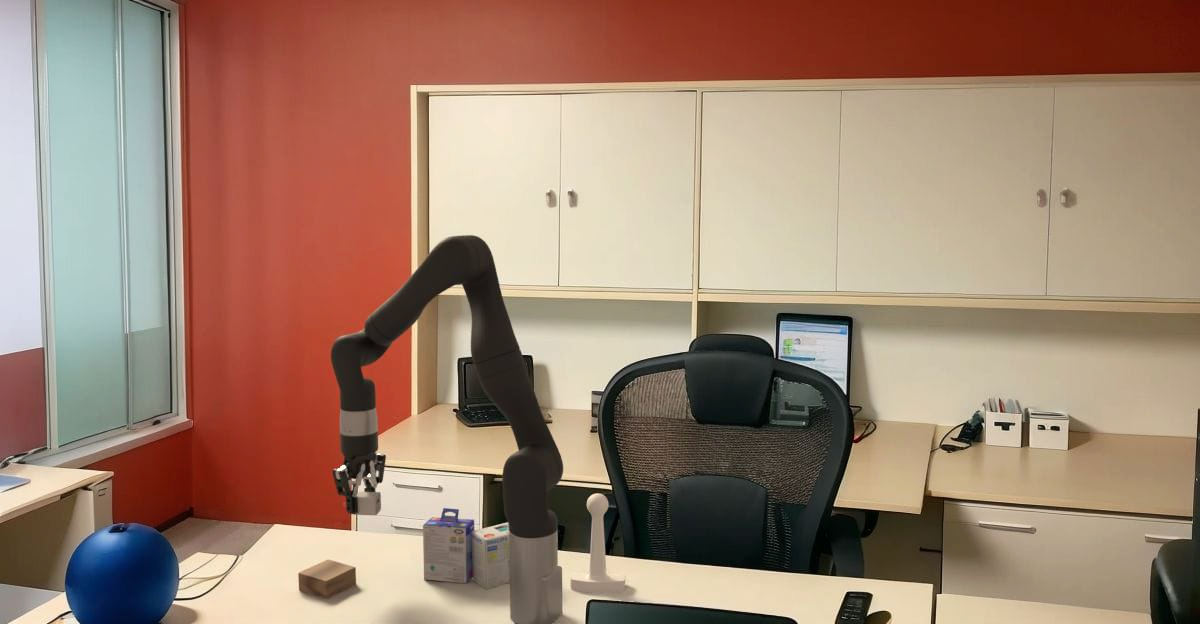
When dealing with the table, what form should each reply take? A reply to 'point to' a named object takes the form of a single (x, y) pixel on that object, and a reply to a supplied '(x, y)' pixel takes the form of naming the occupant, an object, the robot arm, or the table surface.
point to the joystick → (597, 555)
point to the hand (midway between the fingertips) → (361, 509)
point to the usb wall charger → (368, 503)
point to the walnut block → (327, 578)
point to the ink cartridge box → (448, 548)
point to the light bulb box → (491, 555)
